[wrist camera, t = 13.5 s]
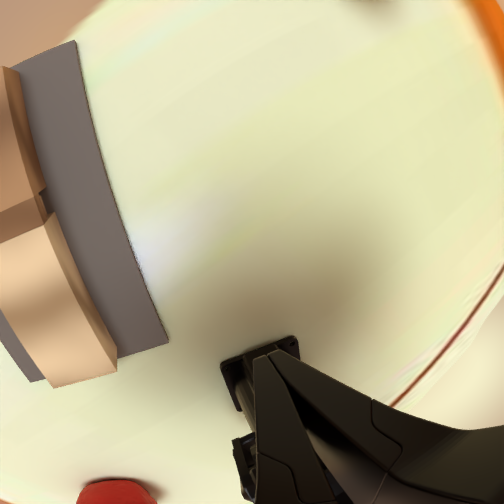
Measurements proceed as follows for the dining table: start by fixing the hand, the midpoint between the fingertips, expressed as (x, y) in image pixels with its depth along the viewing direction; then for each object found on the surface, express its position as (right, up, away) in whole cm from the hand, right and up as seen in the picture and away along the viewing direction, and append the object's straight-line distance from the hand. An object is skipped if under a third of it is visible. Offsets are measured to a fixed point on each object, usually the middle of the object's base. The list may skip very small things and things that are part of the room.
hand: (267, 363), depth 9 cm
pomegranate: (-17, -25, +19) cm, 35 cm away
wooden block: (-15, +9, +4) cm, 18 cm away
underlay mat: (-14, +4, +7) cm, 16 cm away
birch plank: (-13, 0, +8) cm, 15 cm away
